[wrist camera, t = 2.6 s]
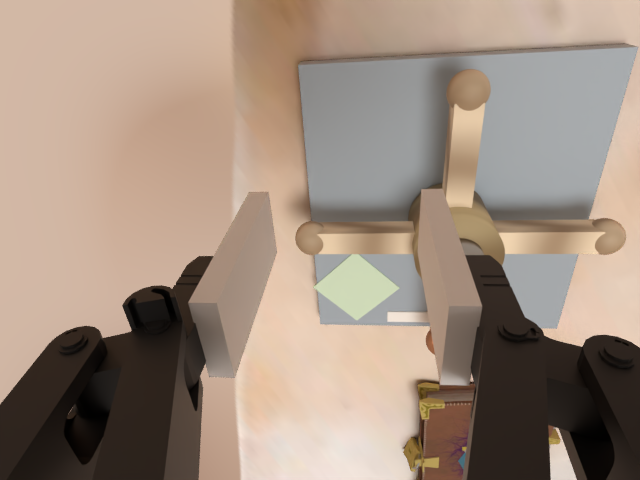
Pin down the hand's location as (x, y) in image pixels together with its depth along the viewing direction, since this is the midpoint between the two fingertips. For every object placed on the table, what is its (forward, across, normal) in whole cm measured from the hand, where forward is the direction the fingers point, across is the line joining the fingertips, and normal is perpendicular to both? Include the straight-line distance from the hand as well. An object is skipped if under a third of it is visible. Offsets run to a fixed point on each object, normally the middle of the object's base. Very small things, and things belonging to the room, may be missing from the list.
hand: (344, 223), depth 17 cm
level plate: (+19, +7, -9) cm, 22 cm away
